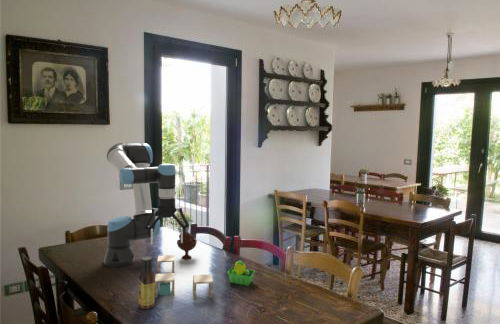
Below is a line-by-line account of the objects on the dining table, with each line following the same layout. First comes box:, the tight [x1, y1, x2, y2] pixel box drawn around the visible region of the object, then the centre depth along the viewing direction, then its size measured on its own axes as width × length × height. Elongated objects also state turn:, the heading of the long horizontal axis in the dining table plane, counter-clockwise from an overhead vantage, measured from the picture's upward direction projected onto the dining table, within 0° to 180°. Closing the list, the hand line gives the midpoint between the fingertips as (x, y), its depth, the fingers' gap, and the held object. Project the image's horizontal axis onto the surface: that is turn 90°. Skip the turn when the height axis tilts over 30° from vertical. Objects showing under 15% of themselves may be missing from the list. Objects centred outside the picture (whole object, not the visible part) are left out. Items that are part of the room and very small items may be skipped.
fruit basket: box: [227, 260, 256, 286], centre depth 177 cm, size 11×9×11 cm
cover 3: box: [192, 273, 214, 300], centre depth 163 cm, size 8×8×7 cm
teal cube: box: [158, 282, 171, 296], centre depth 164 cm, size 4×4×4 cm
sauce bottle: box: [137, 255, 156, 310], centre depth 150 cm, size 7×6×20 cm
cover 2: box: [154, 272, 176, 298], centre depth 164 cm, size 8×8×7 cm
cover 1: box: [156, 254, 175, 274], centre depth 187 cm, size 8×8×7 cm
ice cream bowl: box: [176, 230, 198, 261], centre depth 208 cm, size 11×11×15 cm
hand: (166, 242), depth 177 cm, fingers open, 13 cm apart
